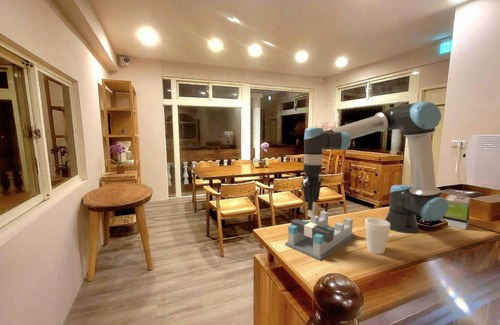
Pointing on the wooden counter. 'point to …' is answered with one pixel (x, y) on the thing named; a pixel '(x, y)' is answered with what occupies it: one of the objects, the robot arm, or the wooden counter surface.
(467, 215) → the tea box
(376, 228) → the foam cup
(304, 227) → the grey banded pillar
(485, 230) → the wooden counter surface
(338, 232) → the grey peg rack
